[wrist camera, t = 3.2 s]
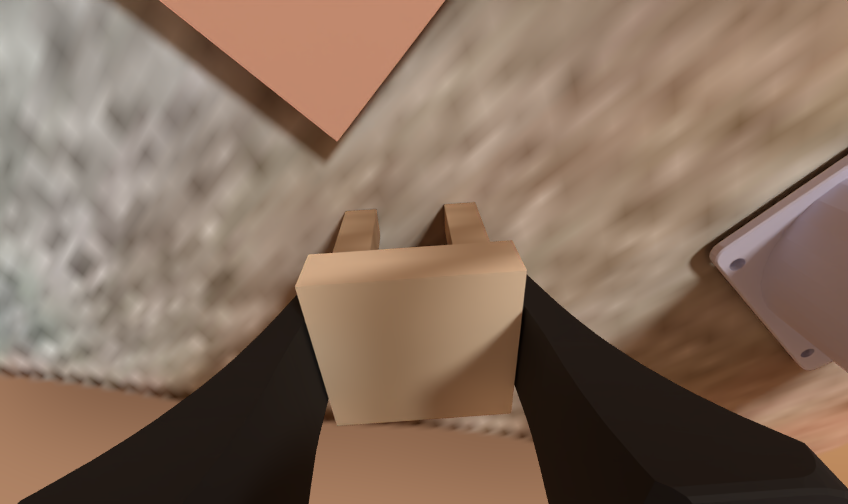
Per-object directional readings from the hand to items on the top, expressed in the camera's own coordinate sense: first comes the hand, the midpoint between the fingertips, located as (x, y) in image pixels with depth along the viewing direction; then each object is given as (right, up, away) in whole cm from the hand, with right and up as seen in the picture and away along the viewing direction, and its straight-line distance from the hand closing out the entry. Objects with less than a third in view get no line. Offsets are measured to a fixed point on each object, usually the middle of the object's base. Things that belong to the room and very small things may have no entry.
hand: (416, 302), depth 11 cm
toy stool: (0, +1, +2) cm, 2 cm away
